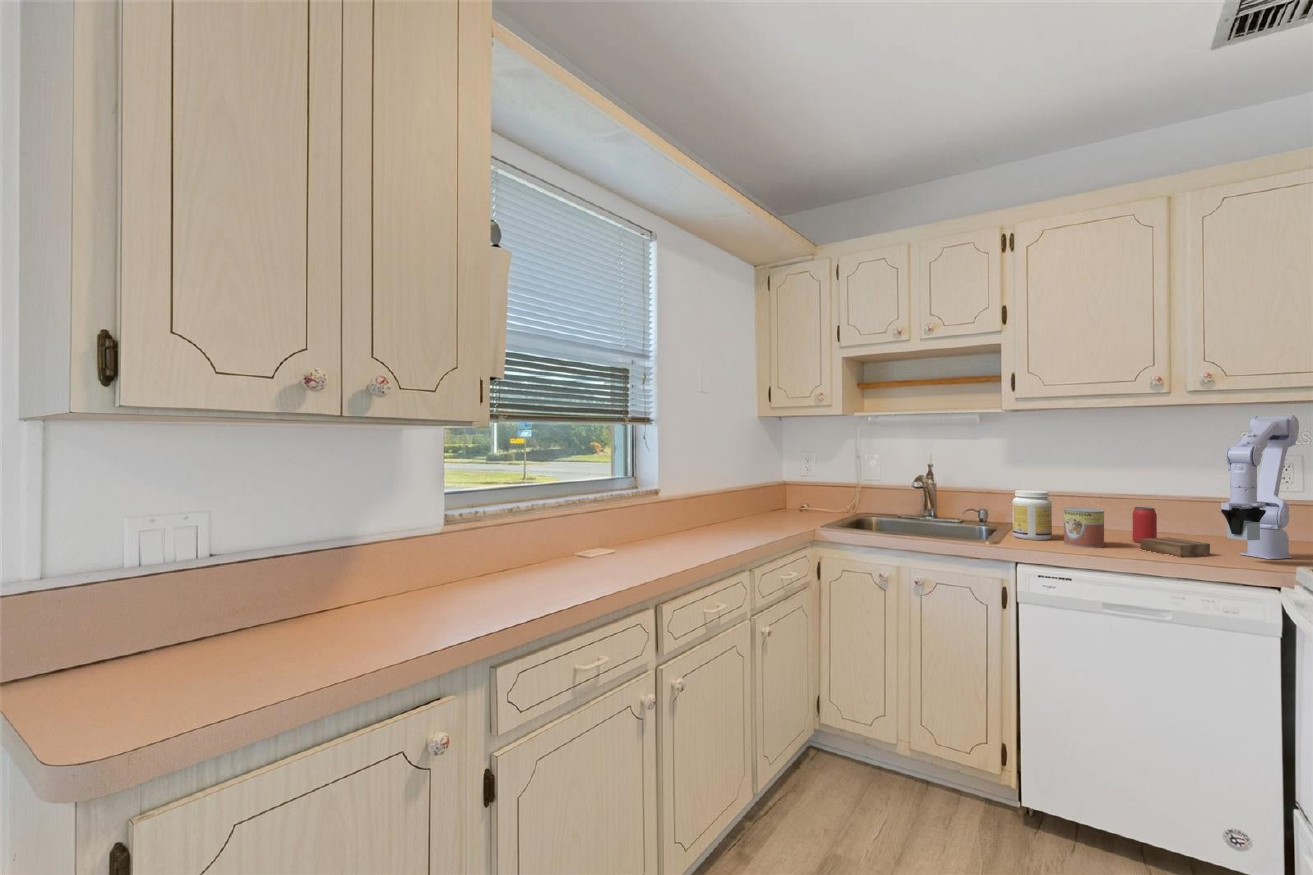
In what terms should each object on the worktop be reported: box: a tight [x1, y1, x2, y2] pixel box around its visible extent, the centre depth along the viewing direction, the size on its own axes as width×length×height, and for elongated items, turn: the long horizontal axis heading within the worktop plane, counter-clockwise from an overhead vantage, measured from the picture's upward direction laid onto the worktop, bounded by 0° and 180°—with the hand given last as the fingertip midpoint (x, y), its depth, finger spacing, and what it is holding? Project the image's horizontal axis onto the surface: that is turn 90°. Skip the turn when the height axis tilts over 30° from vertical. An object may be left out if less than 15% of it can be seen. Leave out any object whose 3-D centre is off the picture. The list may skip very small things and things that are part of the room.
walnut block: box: [1139, 536, 1211, 558], centre depth 193 cm, size 12×12×4 cm
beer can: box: [1132, 506, 1158, 544], centre depth 211 cm, size 7×7×12 cm
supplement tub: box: [1011, 489, 1053, 541], centre depth 221 cm, size 12×12×17 cm
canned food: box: [1063, 507, 1105, 549], centre depth 207 cm, size 11×11×12 cm
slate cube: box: [1226, 521, 1260, 542], centre depth 178 cm, size 5×5×5 cm
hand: (1243, 533), depth 178 cm, fingers closed on slate cube, 5 cm apart
